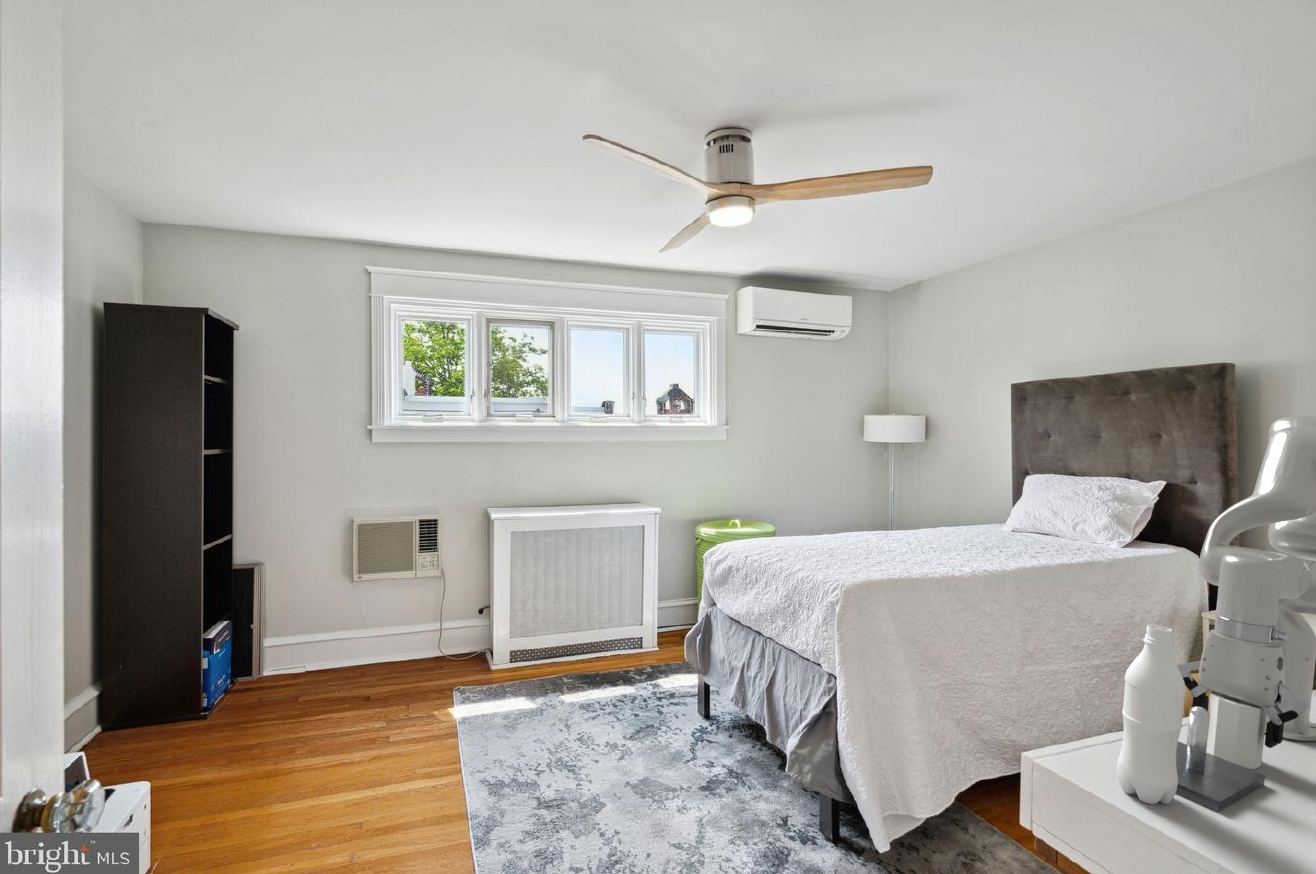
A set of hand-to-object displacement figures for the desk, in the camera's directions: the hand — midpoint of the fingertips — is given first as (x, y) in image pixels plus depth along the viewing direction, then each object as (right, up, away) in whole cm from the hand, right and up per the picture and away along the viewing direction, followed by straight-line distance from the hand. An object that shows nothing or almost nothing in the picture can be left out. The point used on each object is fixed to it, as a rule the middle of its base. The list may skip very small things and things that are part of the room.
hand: (1234, 732), depth 110 cm
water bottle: (-24, -4, -12) cm, 27 cm away
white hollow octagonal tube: (0, -4, 0) cm, 4 cm away
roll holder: (-12, -4, -7) cm, 15 cm away
